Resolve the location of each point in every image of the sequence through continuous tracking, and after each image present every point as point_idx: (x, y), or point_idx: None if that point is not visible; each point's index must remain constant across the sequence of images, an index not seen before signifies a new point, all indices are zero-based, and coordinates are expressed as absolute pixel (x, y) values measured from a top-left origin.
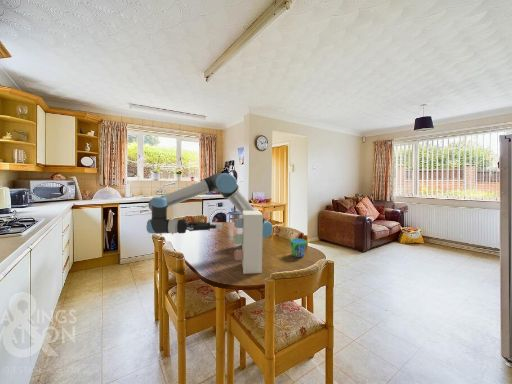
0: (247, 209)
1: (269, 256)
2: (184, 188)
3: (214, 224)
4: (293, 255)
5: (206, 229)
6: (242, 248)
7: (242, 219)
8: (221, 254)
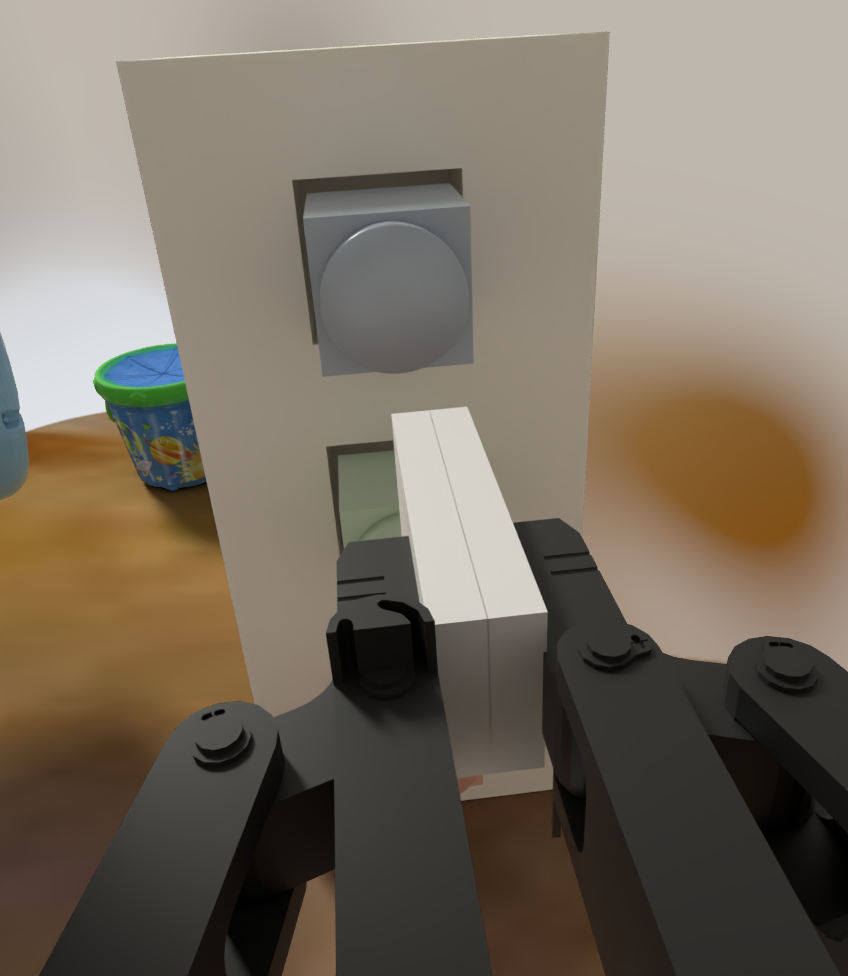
0: None
1: (139, 606)
2: None
3: (508, 525)
4: (191, 483)
5: (818, 814)
6: (322, 650)
7: (393, 188)
8: None
